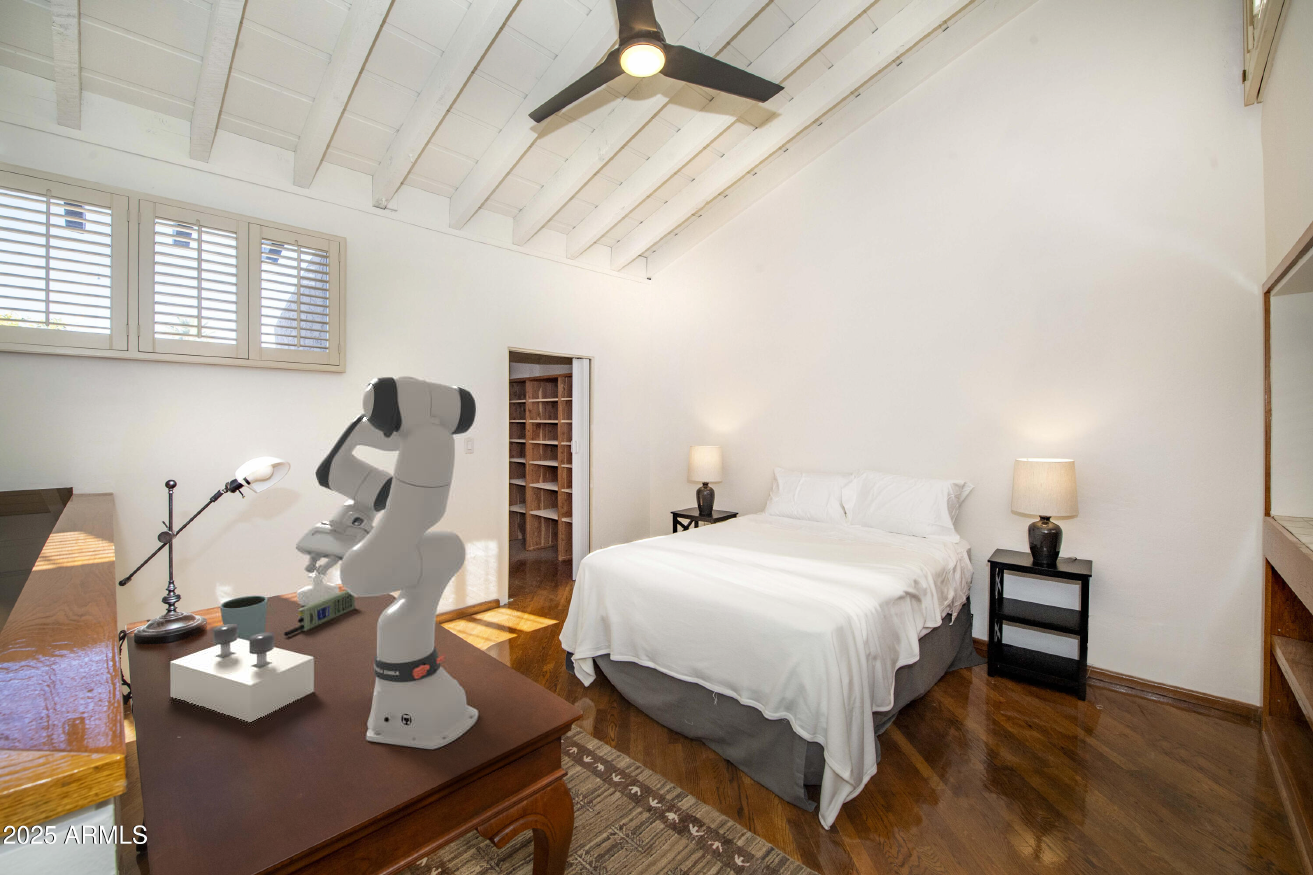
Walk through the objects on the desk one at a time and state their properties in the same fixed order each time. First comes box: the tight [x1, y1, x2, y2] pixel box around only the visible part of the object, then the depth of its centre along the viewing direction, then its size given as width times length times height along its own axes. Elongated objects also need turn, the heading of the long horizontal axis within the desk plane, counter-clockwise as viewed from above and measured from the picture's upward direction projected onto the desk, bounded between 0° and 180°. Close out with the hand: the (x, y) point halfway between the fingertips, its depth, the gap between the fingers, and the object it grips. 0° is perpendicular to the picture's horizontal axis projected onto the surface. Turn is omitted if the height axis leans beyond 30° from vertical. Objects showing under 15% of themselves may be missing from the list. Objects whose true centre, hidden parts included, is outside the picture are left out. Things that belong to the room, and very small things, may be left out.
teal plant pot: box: [219, 595, 268, 641], centre depth 148 cm, size 10×10×12 cm
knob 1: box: [212, 624, 238, 658], centre depth 125 cm, size 4×4×7 cm
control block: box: [169, 638, 315, 723], centre depth 123 cm, size 26×14×8 cm, turn 70°
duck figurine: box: [296, 571, 340, 607], centre depth 182 cm, size 12×8×11 cm
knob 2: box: [249, 632, 275, 669], centre depth 121 cm, size 4×4×7 cm
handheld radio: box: [283, 589, 356, 637], centre depth 166 cm, size 7×3×25 cm
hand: (313, 572), depth 132 cm, fingers open, 2 cm apart
